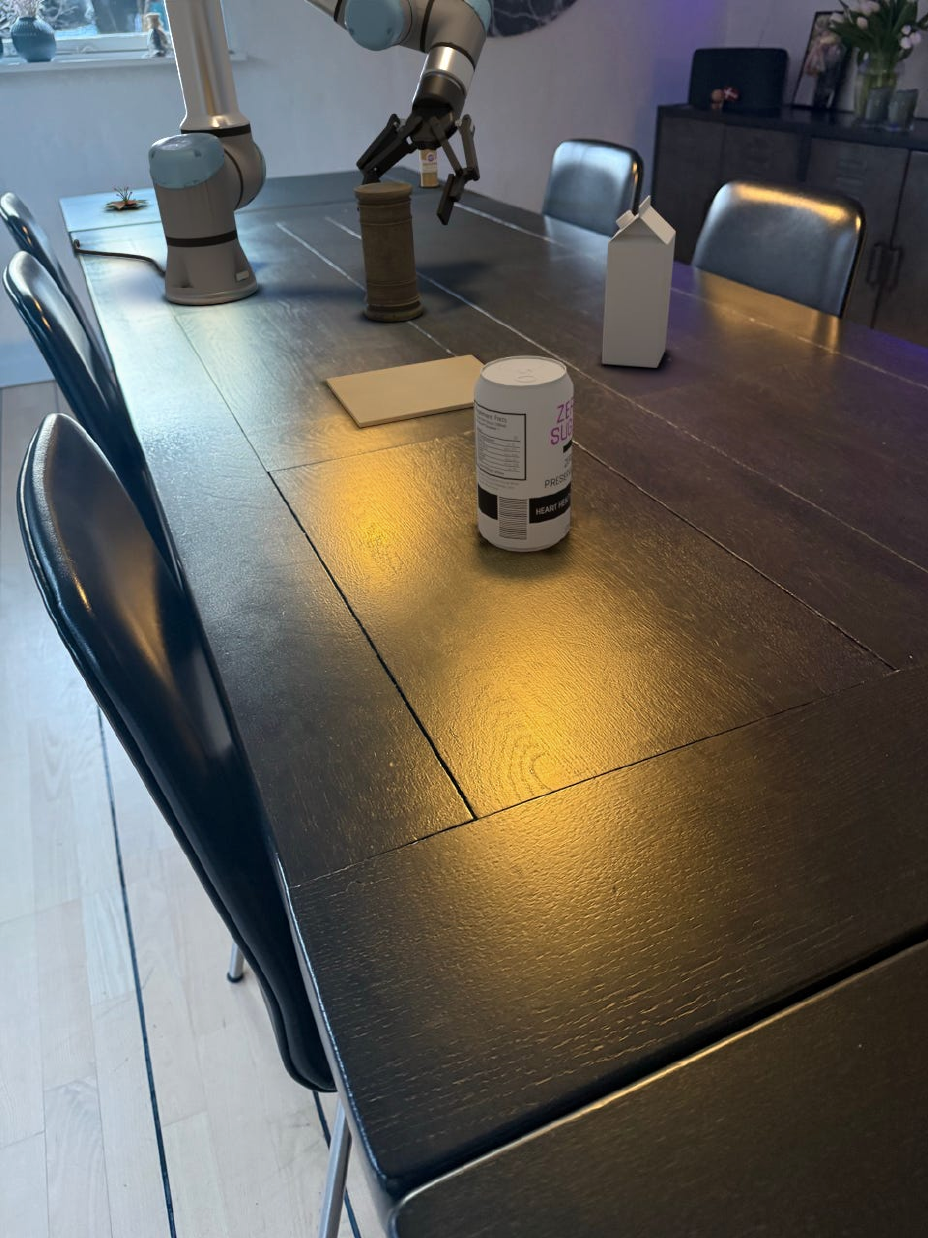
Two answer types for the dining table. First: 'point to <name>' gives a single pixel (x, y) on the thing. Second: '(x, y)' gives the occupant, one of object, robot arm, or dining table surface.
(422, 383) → the mat
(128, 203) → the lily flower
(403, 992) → the dining table surface
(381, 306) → the container
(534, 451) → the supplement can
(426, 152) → the sprinkles bottle
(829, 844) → the dining table surface
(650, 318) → the milk carton
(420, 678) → the dining table surface
